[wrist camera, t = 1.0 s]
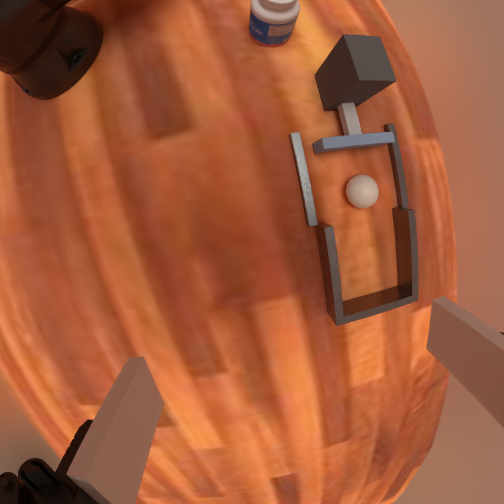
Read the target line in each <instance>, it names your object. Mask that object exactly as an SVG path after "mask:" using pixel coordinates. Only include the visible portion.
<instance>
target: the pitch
mask: <svg viewBox="0 0 504 504" xmlns="http://www.w3.org/2000/svg"><path fill="white" fill-rule="evenodd" d="M384 129H385V132H393V135H394V140H395V142H392V143H389V144H388V148H389V153H390V158H391V163H392V169H393V174H394V181H395V187H396V194H397V201H398V207H397V208H392V211H393V219H394V229H395V240H396V254H397V273H398V286H396V287H393V288H389V289H386V290H383V291H379V292H376V293H372V294H369V295H365V296H362V297H358V298H354V299H351V300H347V301H343V302H342V292H341V283H340V274H339V265H338V257H337V250H336V243H335V236H334V229H333V226H331V225H329V224H326V223H324V222H320V223H317V218H316V212H315V206H314V201H313V195H312V190H311V185H310V180H309V175H308V170H307V165H306V160H305V155H304V151H303V146H302V142H301V137H300V133H299V132H297V133H291V134H290V135H289V137H290V141H291V146H292V150H293V155H294V159H295V164H296V169H297V174H298V179H299V184H300V189H301V194H302V199H303V205H304V210H305V216H306V221H307V225H308V226H314V225H315V226H316V232H317V238H318V245H319V251H320V258H321V265H322V272H323V279H324V287H325V295H326V303H327V312H328V314H329V315H330V317H331V318H332V320H333V321H334V323H335V324H336V326H338V325H342V324H345V323H349V322H352V321H356V320H359V319H363V318H366V317H369V316H373V315H376V314H379V313H382V312H385V311H388V310H392V309H395V308H398V307H401V306H404V305H406V304H409V303H412V302H415V301H418V250H417V233H416V220H415V210H412V209H406V208H405V207H409V205H408V197H407V189H406V182H405V176H404V170H403V164H402V159H401V153H400V148H399V143H398V139H397V134H396V130H395V126H394V124H387V125H384Z"/></svg>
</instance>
